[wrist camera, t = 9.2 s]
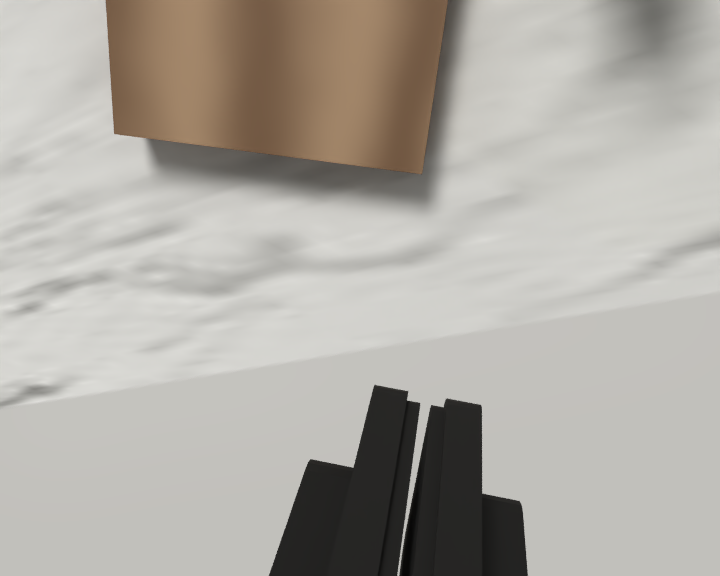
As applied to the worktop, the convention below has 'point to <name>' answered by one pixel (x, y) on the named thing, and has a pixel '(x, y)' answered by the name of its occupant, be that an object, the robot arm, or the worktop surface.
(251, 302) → the worktop surface
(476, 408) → the robot arm
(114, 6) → the board
